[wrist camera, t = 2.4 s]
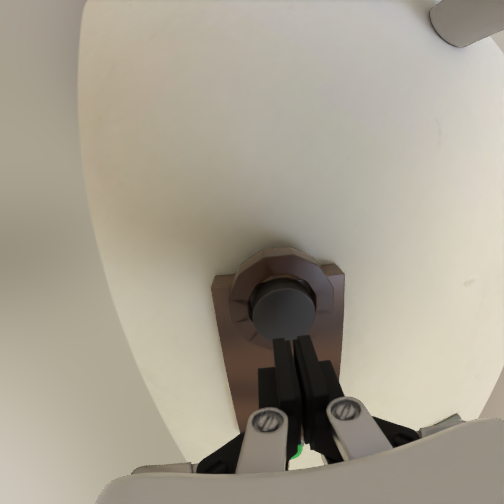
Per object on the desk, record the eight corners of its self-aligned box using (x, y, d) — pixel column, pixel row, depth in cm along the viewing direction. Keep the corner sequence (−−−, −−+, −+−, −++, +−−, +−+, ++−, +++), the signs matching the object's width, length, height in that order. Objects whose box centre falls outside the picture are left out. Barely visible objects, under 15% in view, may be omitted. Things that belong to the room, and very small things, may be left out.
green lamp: (273, 432, 20) (274, 451, 18) (303, 429, 20) (306, 448, 18) (274, 447, 21) (276, 465, 19) (302, 444, 21) (305, 462, 19)
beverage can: (435, 2, 13) (501, -45, 2) (469, 36, 14) (543, 4, 2) (420, 20, 14) (497, -33, 3) (457, 57, 15) (544, 24, 3)
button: (249, 280, 17) (249, 291, 15) (309, 273, 17) (315, 284, 15) (255, 331, 18) (256, 346, 16) (310, 325, 18) (315, 339, 16)
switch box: (210, 246, 20) (200, 263, 16) (335, 234, 20) (353, 248, 16) (243, 431, 25) (242, 459, 21) (327, 422, 25) (335, 449, 21)
